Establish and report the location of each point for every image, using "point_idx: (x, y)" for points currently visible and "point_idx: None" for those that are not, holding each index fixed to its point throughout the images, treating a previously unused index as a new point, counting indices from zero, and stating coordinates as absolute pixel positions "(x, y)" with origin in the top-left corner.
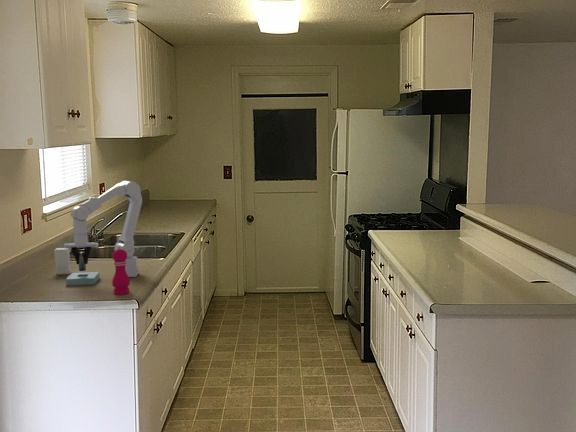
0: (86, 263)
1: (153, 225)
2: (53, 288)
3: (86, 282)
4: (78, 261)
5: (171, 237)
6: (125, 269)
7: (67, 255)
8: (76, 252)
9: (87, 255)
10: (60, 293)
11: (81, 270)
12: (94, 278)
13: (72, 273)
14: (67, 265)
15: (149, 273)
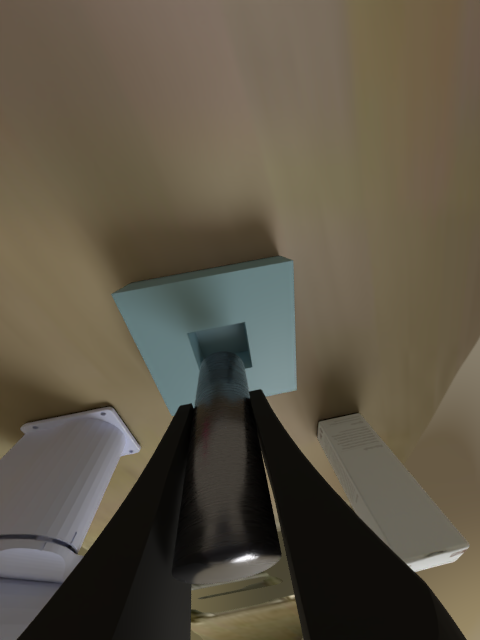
0: (178, 409)
1: (259, 621)
2: (335, 193)
3: (169, 278)
4: (252, 417)
5: (198, 611)
6: (42, 453)
7: (369, 512)
8: (293, 563)
9: (118, 514)
10: (252, 5)
11: (219, 354)
12: (119, 305)
13: (292, 380)
14: (340, 453)
15: None
